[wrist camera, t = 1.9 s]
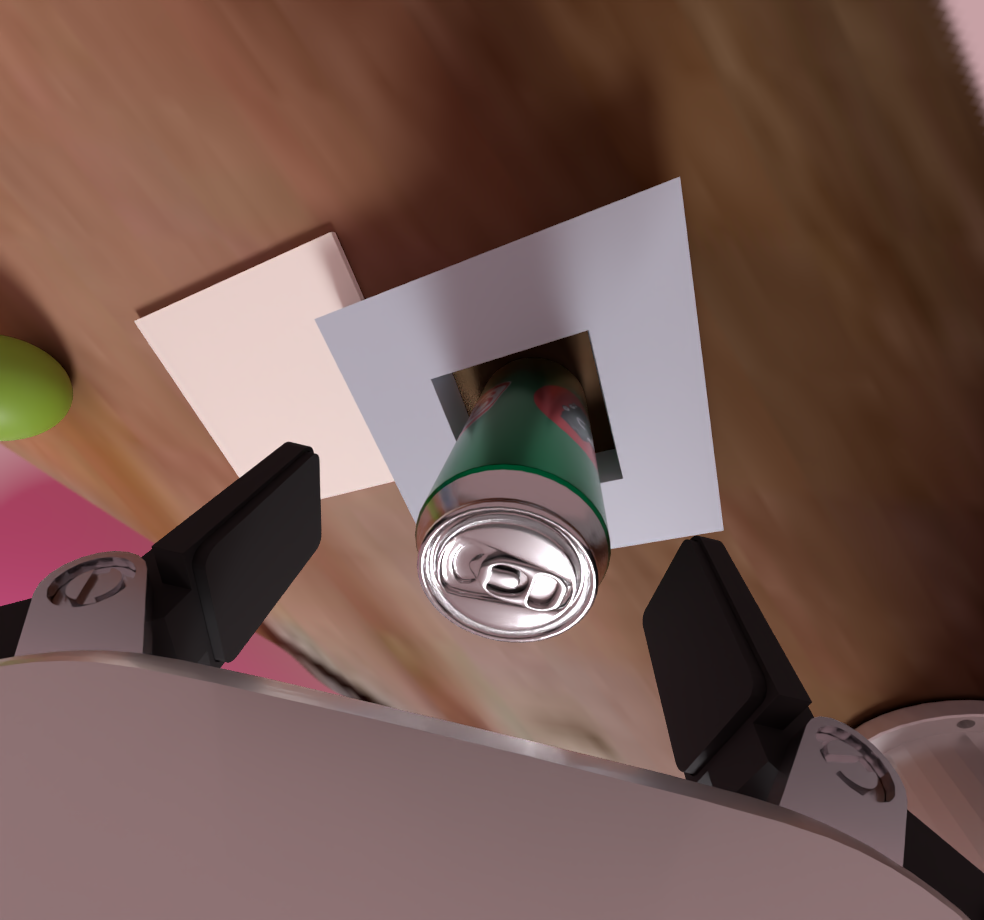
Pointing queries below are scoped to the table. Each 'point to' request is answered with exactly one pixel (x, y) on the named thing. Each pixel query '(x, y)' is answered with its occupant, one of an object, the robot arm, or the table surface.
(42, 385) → the snail figurine
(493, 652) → the table surface
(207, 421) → the mat
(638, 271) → the collar
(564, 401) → the soda can
